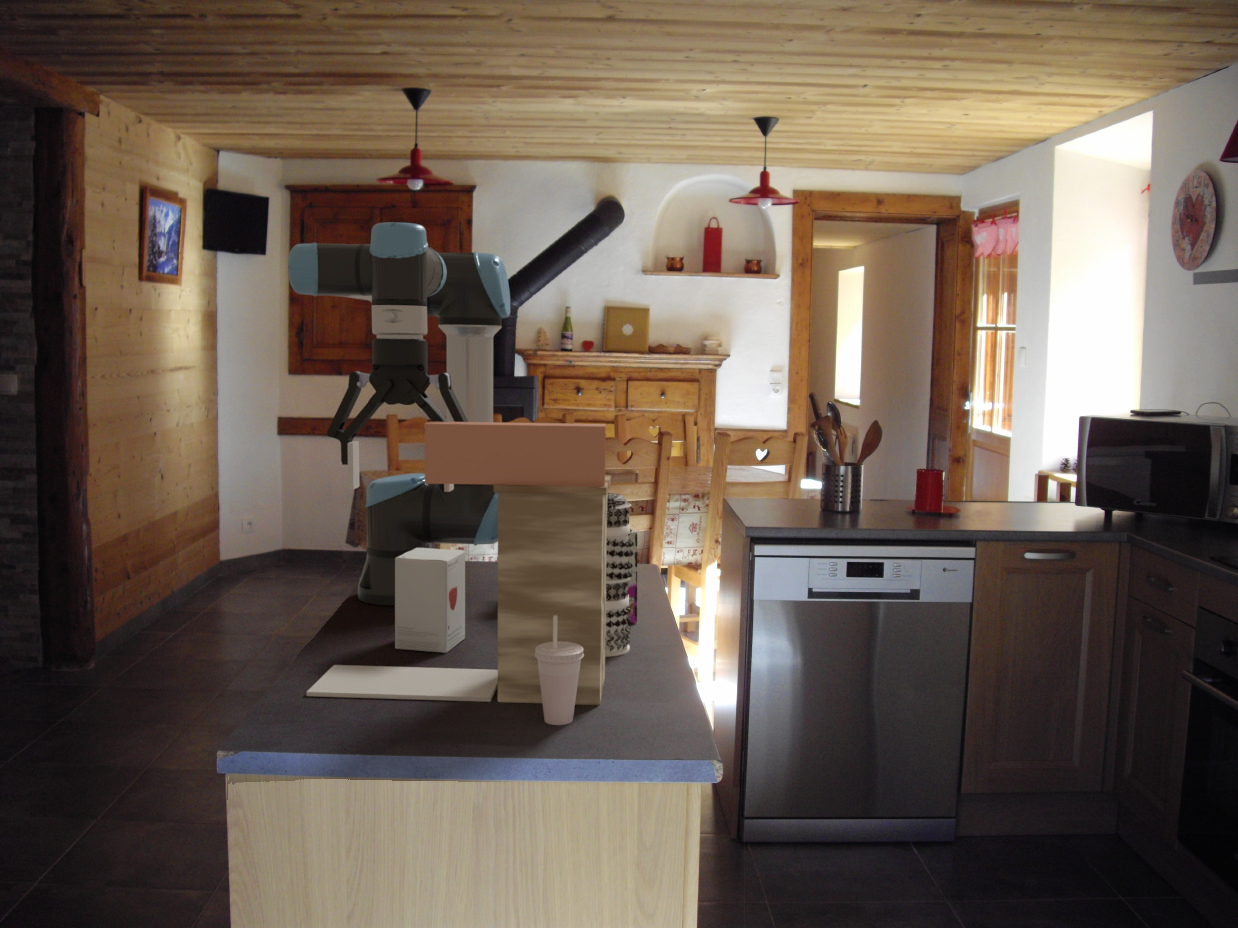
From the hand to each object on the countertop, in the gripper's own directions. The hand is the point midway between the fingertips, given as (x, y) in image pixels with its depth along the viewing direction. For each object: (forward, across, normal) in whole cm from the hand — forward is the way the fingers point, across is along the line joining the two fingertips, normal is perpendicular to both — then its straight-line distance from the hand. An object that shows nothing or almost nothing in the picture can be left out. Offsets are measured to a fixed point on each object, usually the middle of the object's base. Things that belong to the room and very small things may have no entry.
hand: (401, 489), depth 147 cm
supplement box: (+28, -1, +19) cm, 34 cm away
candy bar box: (+28, +26, +34) cm, 52 cm away
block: (-2, +17, -4) cm, 18 cm away
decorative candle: (+28, +27, +20) cm, 44 cm away
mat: (+28, +1, -1) cm, 28 cm away
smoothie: (+28, +24, -12) cm, 39 cm away
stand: (+28, +22, -1) cm, 35 cm away
